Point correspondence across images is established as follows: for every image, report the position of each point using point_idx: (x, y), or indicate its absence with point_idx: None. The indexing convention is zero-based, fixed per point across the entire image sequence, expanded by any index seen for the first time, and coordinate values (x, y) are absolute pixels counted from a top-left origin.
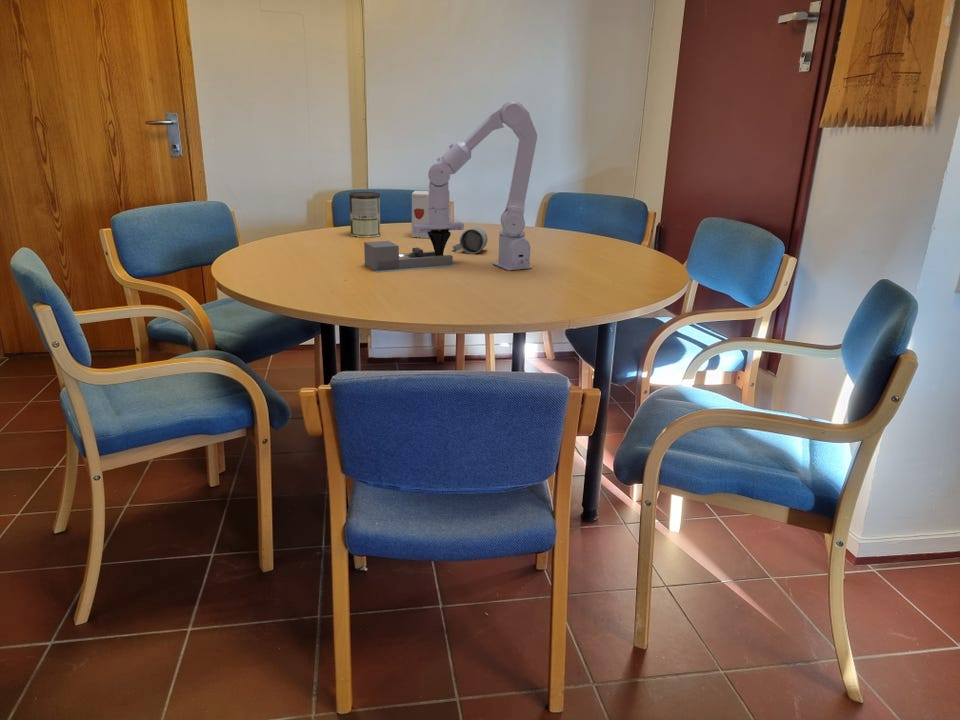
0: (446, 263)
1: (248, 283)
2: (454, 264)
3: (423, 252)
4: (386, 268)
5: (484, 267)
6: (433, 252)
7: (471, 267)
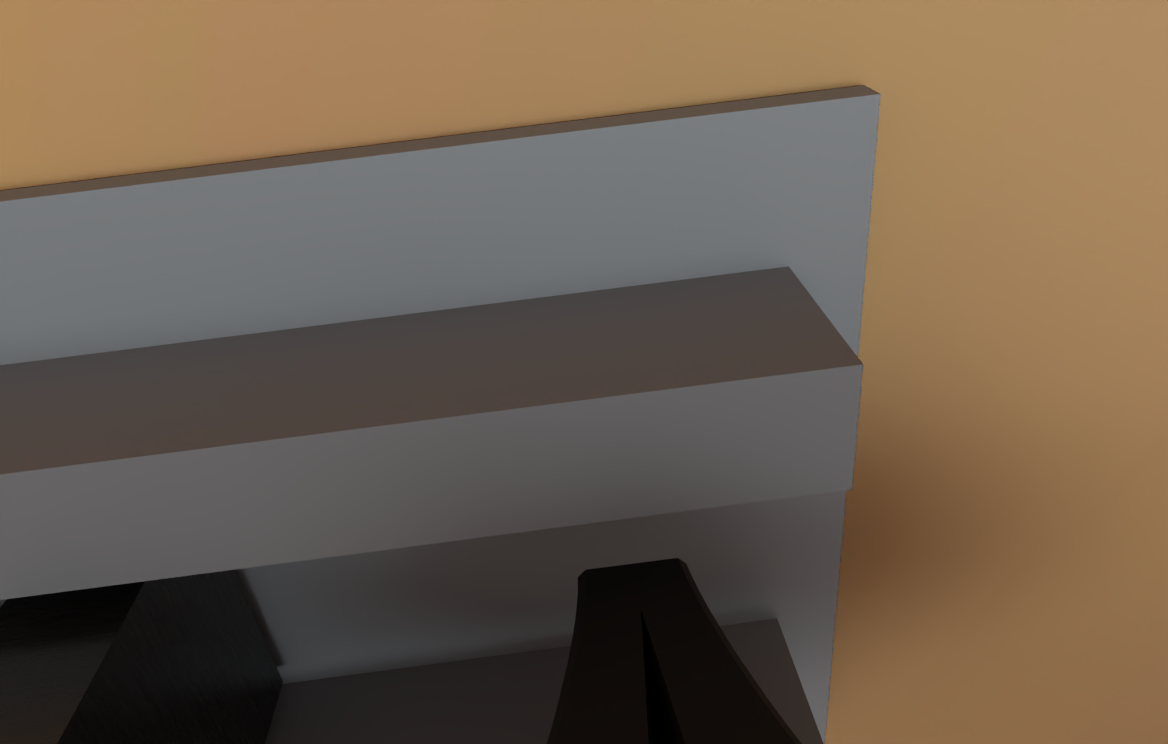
0: None
1: None
2: (814, 668)
3: (306, 490)
4: None
5: (1144, 732)
6: (575, 524)
7: (991, 716)
